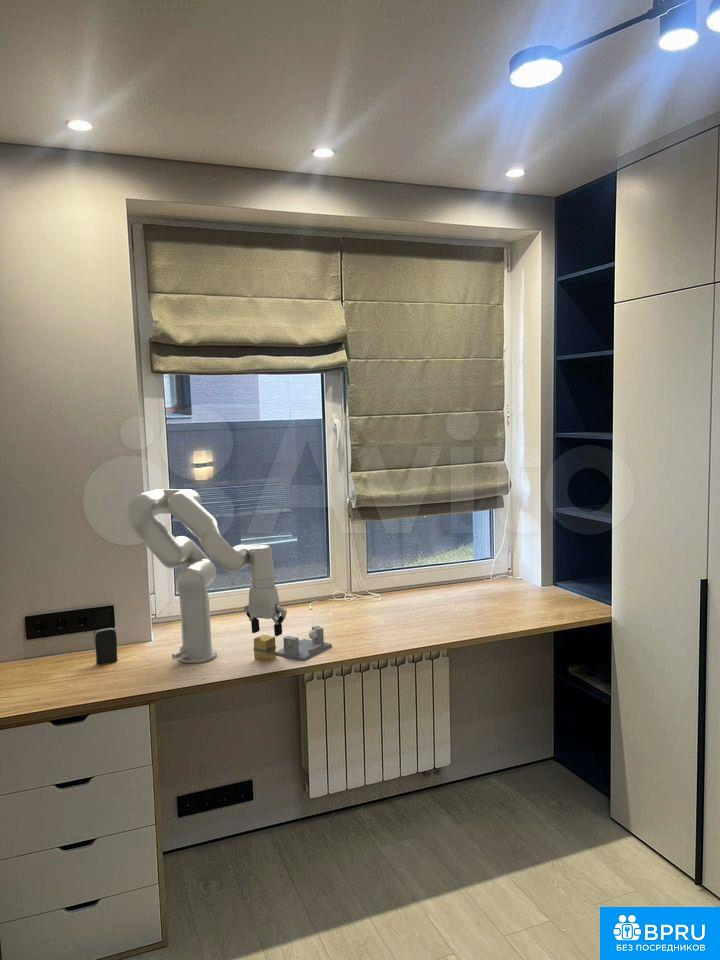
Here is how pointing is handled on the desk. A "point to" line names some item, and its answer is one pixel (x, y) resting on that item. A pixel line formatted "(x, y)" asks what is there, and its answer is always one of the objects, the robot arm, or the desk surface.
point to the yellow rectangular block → (264, 648)
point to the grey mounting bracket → (304, 645)
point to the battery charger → (105, 646)
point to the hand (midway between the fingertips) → (267, 633)
